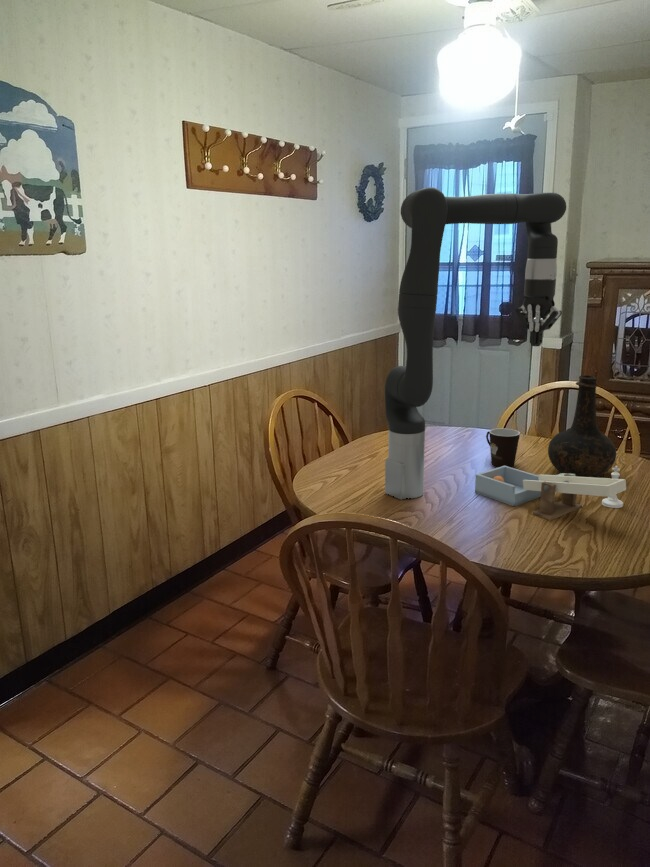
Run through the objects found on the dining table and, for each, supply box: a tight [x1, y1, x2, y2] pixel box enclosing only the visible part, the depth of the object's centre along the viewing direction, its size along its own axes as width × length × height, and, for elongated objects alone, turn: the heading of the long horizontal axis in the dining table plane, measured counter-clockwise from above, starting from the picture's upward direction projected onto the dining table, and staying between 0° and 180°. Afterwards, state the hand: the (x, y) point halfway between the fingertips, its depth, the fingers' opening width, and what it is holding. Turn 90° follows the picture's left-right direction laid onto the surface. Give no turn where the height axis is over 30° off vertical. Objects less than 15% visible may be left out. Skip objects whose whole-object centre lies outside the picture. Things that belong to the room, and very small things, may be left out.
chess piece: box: [601, 465, 624, 509], centre depth 163 cm, size 5×5×10 cm
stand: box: [532, 474, 583, 521], centre depth 160 cm, size 5×13×8 cm, turn 127°
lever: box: [523, 473, 627, 498], centre depth 159 cm, size 23×16×2 cm
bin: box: [474, 466, 541, 507], centre depth 171 cm, size 12×13×5 cm
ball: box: [493, 476, 504, 482], centre depth 174 cm, size 3×3×3 cm
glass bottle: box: [547, 374, 617, 478], centre depth 183 cm, size 18×18×28 cm
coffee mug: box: [485, 427, 521, 468], centre depth 195 cm, size 12×9×10 cm
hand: (535, 345), depth 172 cm, fingers closed
